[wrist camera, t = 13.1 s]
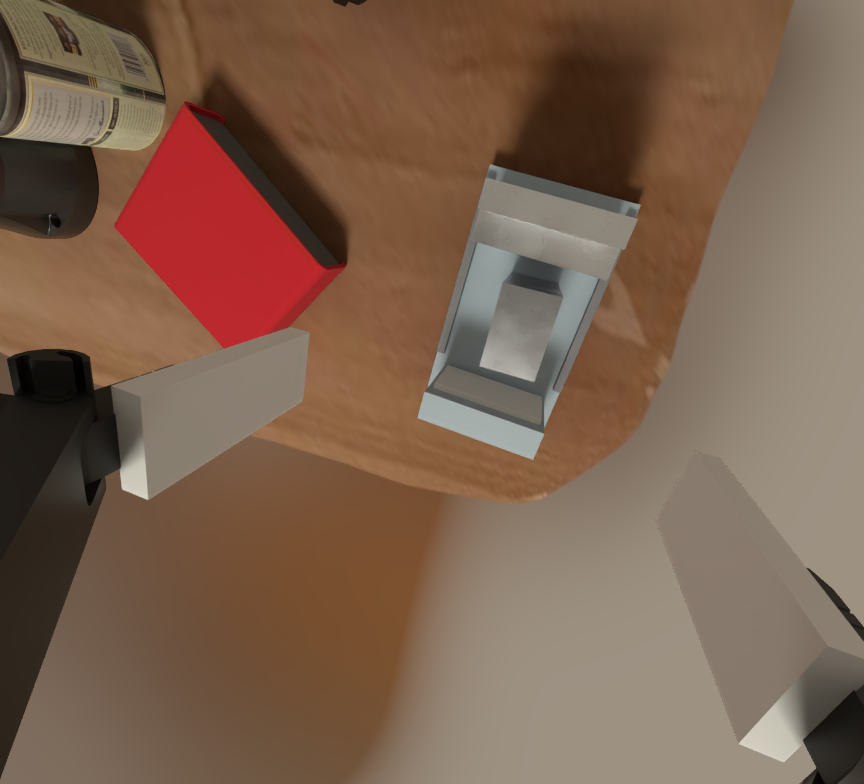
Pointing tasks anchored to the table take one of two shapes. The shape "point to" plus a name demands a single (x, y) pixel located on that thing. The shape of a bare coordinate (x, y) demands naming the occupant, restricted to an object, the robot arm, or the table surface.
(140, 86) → the coffee can
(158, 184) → the red device housing
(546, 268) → the vise base
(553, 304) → the steel block
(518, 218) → the sliding jaw
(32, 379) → the robot arm
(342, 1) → the power plug
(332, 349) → the table surface
